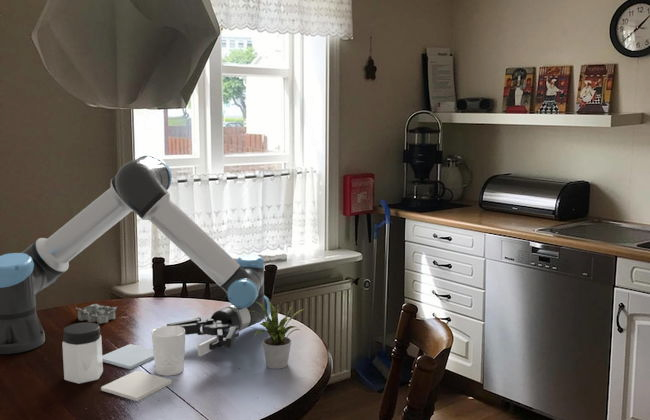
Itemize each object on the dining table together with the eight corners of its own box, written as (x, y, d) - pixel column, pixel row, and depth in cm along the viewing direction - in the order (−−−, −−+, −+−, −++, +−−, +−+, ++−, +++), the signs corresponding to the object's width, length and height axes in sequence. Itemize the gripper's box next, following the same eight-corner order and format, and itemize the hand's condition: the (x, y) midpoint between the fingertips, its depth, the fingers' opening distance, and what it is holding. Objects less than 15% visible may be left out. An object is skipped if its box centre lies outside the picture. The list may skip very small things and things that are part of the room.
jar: (68, 386, 160) (66, 336, 158) (60, 374, 166) (57, 326, 164) (108, 378, 165) (105, 329, 162) (98, 366, 171) (96, 319, 169)
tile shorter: (101, 390, 158) (101, 386, 158) (136, 373, 167) (136, 370, 167) (137, 401, 153) (136, 397, 152) (171, 383, 162) (171, 380, 162)
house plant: (231, 365, 172) (230, 302, 170) (268, 349, 183) (267, 289, 181) (275, 380, 164) (275, 313, 161) (311, 362, 175) (311, 299, 172)
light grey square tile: (98, 360, 175) (98, 357, 175) (130, 346, 184) (130, 343, 184) (130, 369, 170) (130, 366, 170) (161, 354, 179) (161, 351, 179)
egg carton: (73, 320, 205) (73, 307, 205) (91, 313, 212) (91, 300, 211) (102, 325, 201) (101, 312, 200) (119, 318, 208) (119, 304, 207)
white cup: (172, 361, 175) (171, 323, 173) (193, 369, 170) (192, 330, 168) (146, 371, 169) (144, 331, 167) (166, 380, 164) (165, 339, 162)
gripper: (268, 342, 183) (218, 370, 165) (194, 325, 195) (139, 350, 177) (268, 315, 182) (217, 340, 163) (193, 300, 194) (138, 321, 175)
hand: (177, 345), depth 170 cm, fingers open, 13 cm apart
